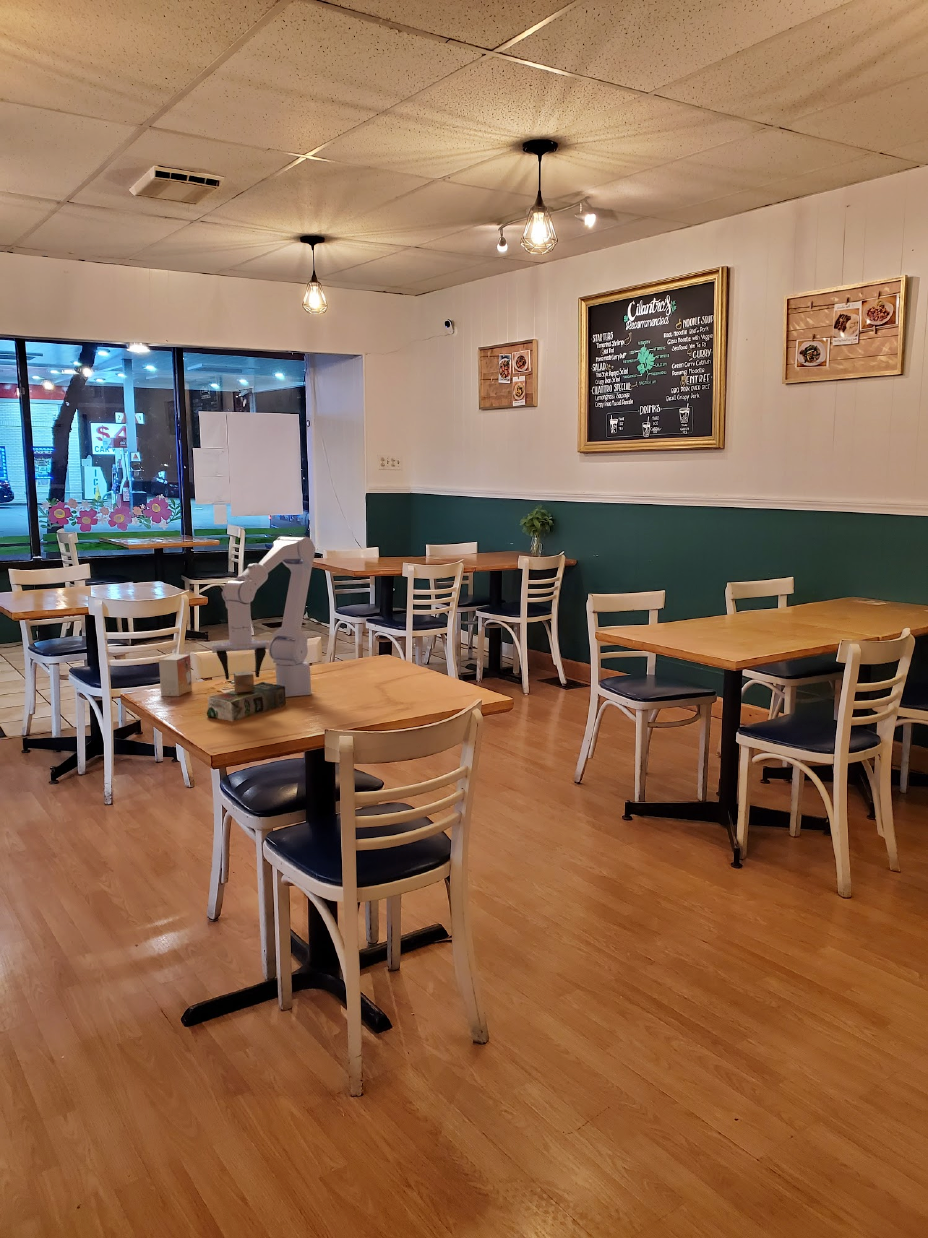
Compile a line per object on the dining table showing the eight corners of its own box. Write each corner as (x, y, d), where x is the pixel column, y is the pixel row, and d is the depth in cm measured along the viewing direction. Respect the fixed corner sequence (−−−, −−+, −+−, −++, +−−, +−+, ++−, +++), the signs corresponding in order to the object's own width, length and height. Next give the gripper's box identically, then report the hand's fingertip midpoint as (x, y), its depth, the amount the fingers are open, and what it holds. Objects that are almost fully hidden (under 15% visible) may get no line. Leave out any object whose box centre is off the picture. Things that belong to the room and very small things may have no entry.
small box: (178, 697, 260) (176, 660, 258) (160, 696, 261) (158, 659, 259) (192, 690, 267) (190, 654, 266) (174, 689, 268) (172, 653, 267)
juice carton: (230, 724, 234) (228, 700, 233) (203, 718, 239) (202, 695, 238) (287, 707, 250) (286, 685, 249) (261, 702, 256) (260, 680, 255)
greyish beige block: (251, 687, 247) (251, 670, 247) (254, 691, 243) (253, 674, 242) (234, 688, 246) (233, 672, 245) (236, 692, 242) (235, 675, 241)
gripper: (212, 631, 236) (214, 683, 238) (270, 627, 241) (272, 678, 243) (210, 626, 243) (212, 677, 245) (266, 623, 247) (268, 673, 249)
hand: (242, 677), depth 244 cm, fingers open, 7 cm apart
